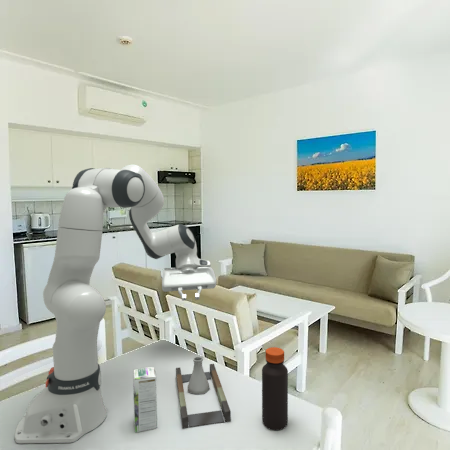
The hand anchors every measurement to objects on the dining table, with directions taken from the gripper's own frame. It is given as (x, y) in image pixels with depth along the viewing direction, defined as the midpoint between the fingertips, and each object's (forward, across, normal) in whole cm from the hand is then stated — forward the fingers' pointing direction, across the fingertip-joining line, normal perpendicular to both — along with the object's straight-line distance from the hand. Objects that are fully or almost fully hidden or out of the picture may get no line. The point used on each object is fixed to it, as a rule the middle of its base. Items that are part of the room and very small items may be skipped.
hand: (190, 299), depth 128 cm
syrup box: (+40, -16, -6) cm, 43 cm away
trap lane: (+33, 0, 0) cm, 33 cm away
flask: (+30, 0, +4) cm, 30 cm away
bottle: (+44, +18, -11) cm, 49 cm away
